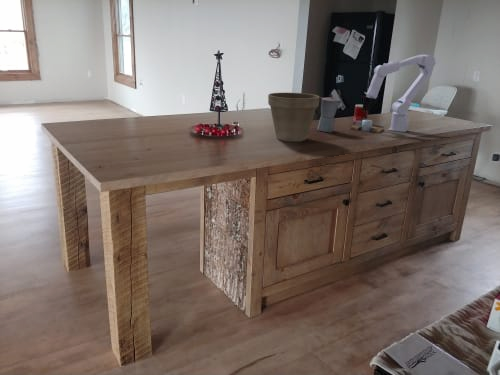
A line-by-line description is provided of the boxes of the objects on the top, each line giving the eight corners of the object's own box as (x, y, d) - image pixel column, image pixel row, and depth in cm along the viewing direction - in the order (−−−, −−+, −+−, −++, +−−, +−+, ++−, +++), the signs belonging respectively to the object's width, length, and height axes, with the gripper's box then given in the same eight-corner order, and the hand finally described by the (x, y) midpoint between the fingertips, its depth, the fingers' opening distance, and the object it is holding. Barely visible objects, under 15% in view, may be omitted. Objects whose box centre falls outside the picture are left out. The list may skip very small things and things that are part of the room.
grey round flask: (372, 130, 256) (373, 120, 254) (369, 131, 251) (371, 121, 249) (356, 128, 260) (357, 118, 258) (354, 129, 255) (355, 119, 253)
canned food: (363, 125, 268) (365, 106, 265) (350, 123, 273) (353, 105, 269) (368, 123, 274) (370, 105, 271) (356, 121, 279) (358, 104, 275)
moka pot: (338, 133, 242) (342, 96, 235) (309, 131, 244) (313, 94, 238) (338, 130, 251) (342, 93, 244) (311, 128, 253) (314, 92, 247)
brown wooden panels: (383, 129, 257) (383, 127, 257) (379, 133, 248) (379, 130, 248) (355, 126, 264) (356, 124, 264) (350, 129, 255) (350, 127, 255)
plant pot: (258, 134, 231) (260, 91, 224) (301, 132, 240) (304, 91, 233) (278, 145, 209) (281, 98, 202) (324, 143, 218) (329, 98, 211)
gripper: (370, 85, 257) (362, 108, 261) (365, 83, 244) (356, 107, 248) (382, 89, 255) (373, 112, 258) (377, 87, 242) (368, 112, 246)
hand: (365, 110), depth 253 cm, fingers open, 7 cm apart
